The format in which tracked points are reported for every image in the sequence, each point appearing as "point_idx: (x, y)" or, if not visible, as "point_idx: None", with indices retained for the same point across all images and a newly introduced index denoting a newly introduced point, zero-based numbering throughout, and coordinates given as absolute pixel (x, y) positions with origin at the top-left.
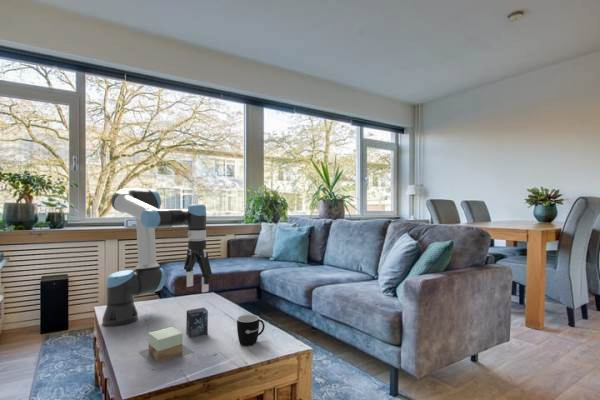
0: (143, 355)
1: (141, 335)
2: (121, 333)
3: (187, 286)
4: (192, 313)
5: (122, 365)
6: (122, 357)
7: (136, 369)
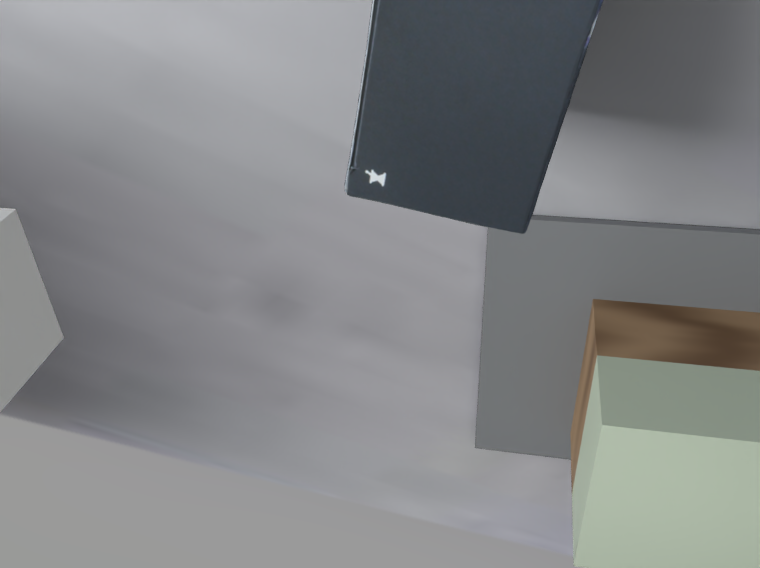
0: (557, 453)
1: (177, 317)
2: (66, 373)
3: (58, 343)
4: (532, 204)
5: None
6: (467, 502)
7: None
